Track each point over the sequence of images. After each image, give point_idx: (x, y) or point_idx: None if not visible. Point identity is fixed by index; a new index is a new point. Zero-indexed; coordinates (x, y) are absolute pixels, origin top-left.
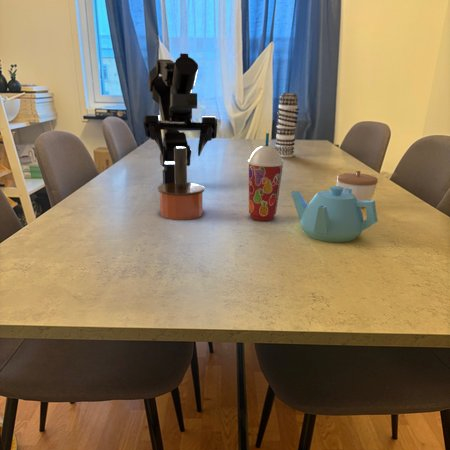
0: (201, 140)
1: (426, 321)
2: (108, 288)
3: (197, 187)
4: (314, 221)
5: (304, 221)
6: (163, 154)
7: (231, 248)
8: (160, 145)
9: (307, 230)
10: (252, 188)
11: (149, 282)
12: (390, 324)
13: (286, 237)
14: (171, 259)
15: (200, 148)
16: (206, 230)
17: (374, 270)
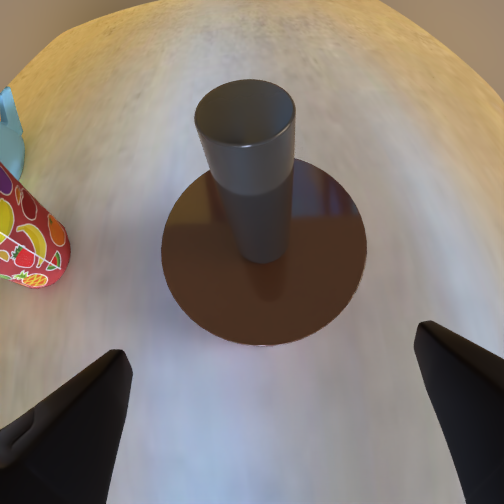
0: (41, 413)
1: (60, 37)
2: (308, 6)
3: (189, 250)
4: (11, 129)
5: (15, 147)
6: (415, 337)
7: (156, 85)
8: (472, 348)
9: (23, 145)
10: (26, 193)
11: (269, 13)
12: (83, 26)
13: (54, 148)
14: (252, 45)
15: (87, 371)
16: (190, 146)
17: (29, 89)
